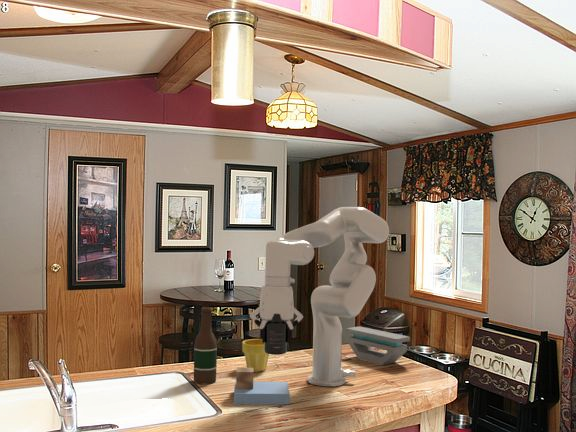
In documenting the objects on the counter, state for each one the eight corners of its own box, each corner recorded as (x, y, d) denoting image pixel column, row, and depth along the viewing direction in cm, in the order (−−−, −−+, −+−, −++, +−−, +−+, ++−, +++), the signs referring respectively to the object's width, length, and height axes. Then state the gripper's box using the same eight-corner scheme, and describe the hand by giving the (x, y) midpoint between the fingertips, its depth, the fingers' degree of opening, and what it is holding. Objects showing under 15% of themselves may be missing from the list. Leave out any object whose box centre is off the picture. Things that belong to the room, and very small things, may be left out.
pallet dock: (286, 391, 172) (286, 381, 172) (289, 404, 160) (289, 393, 160) (234, 391, 171) (235, 381, 171) (233, 404, 159) (234, 393, 159)
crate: (252, 384, 169) (253, 367, 169) (253, 389, 164) (253, 372, 164) (236, 384, 169) (236, 367, 169) (236, 388, 164) (236, 371, 164)
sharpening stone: (409, 366, 207) (409, 336, 208) (396, 369, 202) (396, 339, 202) (358, 353, 226) (359, 326, 226) (345, 355, 221) (346, 328, 221)
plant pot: (235, 369, 196) (236, 342, 196) (253, 364, 205) (254, 337, 205) (259, 374, 190) (259, 346, 190) (276, 368, 199) (277, 341, 199)
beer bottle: (212, 385, 177) (214, 309, 177) (188, 383, 178) (190, 308, 179) (219, 378, 184) (221, 306, 185) (197, 377, 186) (199, 305, 186)
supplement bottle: (263, 349, 169) (264, 310, 169) (285, 349, 170) (287, 310, 170) (264, 355, 162) (265, 313, 163) (287, 355, 163) (289, 314, 163)
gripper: (305, 281, 171) (303, 339, 170) (248, 280, 169) (246, 339, 169) (307, 284, 163) (306, 345, 163) (248, 282, 162) (246, 344, 162)
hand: (275, 341), depth 166 cm, fingers closed on supplement bottle, 6 cm apart
